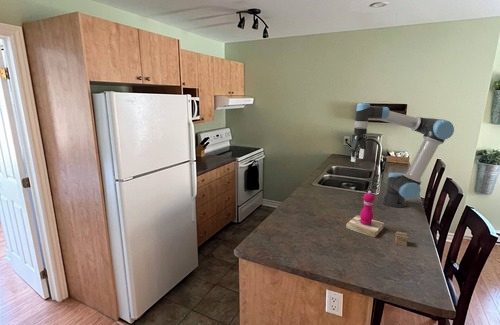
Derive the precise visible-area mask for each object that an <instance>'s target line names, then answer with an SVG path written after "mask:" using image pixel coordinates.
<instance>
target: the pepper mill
mask: <svg viewBox="0 0 500 325" xmlns="http://www.w3.org/2000/svg"><path fill="white" fill-rule="evenodd" d="M375 200H376V198H375V195H374V194H373V193H372V191H371V190H368V191H367V193H364V195H363V208H362V209H361V211H360V214H359V216H360V217H361V219H360V223H361V224H363V225H371V224H372V221H371V220H374V213H373V209H372V208H373V205H374V201H375Z"/></svg>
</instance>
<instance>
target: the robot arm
mask: <svg viewBox="0 0 500 325" xmlns="http://www.w3.org/2000/svg"><path fill="white" fill-rule="evenodd" d="M355 110H356V111H355V121H354V128H353V129H354V130H353V134H354V136H353V138H352V139H353V140H352V144H351V147H350V150H349V151H350V152H351V157H350V162H352V163H353V162H354V163H356V159H357V149H358V147H360V148H359V154H358V159H363V160H364V155H365V150H366V149H367V143H366V142H367V141H366V135H367V134H368V133H367V131H368V124H369V119H371V120H373V119H374V120H379V121H382V122H385V123H388V124H389V123H390V124H394V125H397V126H401V127H403V128H404V127H405V128H409V129H410V130H412V131H414V132H416V133H420V134H423V136H422V138H423V141H422V144H421V145H420V147H419V149H418V151H417V152H416V155H415V157H414V158H413V160H412V162H411V164H410V166H409V168H408V170H407V171H406V173H404V172H403V173H402V172H389V173H388V177H387V183H386V191H385V193H384V195H383V197H382V201H381V202H382V203H383V205H386V206H389V207H392V208H404V207H406V203H407V202H406V199H408V200H412V199H415V198H418V196H419V195H420V194H421V186H420V185H421V184H422V180H421V178H422V177H423V175H424V173H425V171H426V169H427V167H429V166H428V165H429V164H430V162H431V160H432V159H433V156H434V154H435V153H436V152H437V150H438V147H439V146H440V145H442V144H444V142H445V141H446V140H448V139H450V138H451V137H452V136H453V134H454V132H455V126H454V124H453V123H452V122H451V121H449V120H445V119H443V118H441V119H440V118H439V119H438V118H433V117H432V118H431V117H430V118H429V117H421V116H411V115H407V114H404V113H399V112H395V111H392V110H390V107H388V106H372V105H371V104H370V103H367V102H366V103H364V102H359V103H358V104H357V105H356V109H355Z"/></svg>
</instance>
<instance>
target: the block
mask: <svg viewBox="0 0 500 325" xmlns="http://www.w3.org/2000/svg"><path fill="white" fill-rule="evenodd" d="M408 241H409V236H408V233H407V232H403V231H402V232H401V231H395V236H394V242H395V245H398V246H403V247H408Z"/></svg>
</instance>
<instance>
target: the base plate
mask: <svg viewBox="0 0 500 325" xmlns="http://www.w3.org/2000/svg"><path fill="white" fill-rule="evenodd" d="M360 219H361V217H360V214H359V215H358V214H357V215H355V216H354V217H353V218H351V219H350V220H349V221H348V222H347V223H346V226H345V228H346V229H347V230H351V231H353V232H356V233H360V234H363V235H366V236H369V237H372V238H376V237H377V235H378V234H379V233H380V232H381V231H382V230H383V229H384V227H385V222H381V221H379V220H374V219H372V220H371V221H372V224H371V225H363V224H361V223H360Z"/></svg>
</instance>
